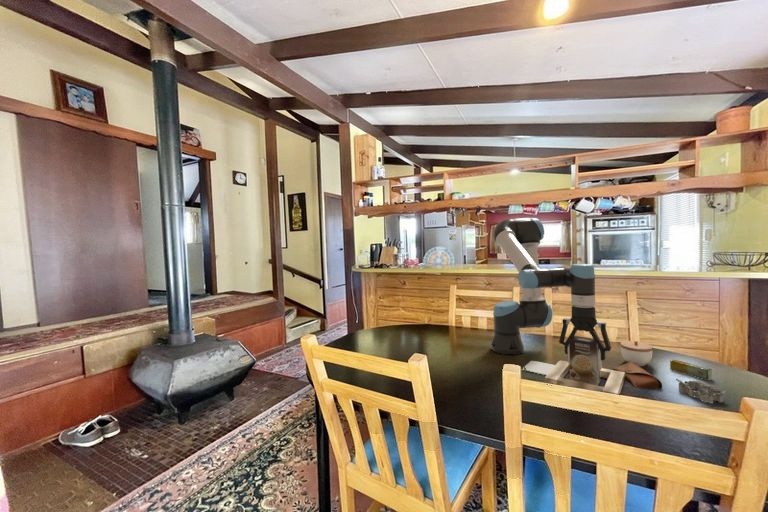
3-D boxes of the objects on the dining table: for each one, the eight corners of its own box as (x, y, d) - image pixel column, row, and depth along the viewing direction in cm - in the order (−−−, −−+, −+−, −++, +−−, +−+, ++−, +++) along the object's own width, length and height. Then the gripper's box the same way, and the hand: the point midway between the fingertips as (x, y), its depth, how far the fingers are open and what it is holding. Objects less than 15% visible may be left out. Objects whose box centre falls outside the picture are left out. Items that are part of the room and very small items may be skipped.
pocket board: (545, 383, 120) (544, 377, 120) (559, 366, 135) (559, 360, 135) (617, 401, 105) (617, 393, 105) (624, 378, 121) (624, 372, 120)
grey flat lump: (673, 389, 111) (673, 378, 111) (695, 388, 112) (694, 376, 111) (705, 404, 101) (705, 392, 101) (728, 403, 101) (728, 390, 101)
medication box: (712, 380, 117) (712, 369, 117) (708, 381, 116) (708, 370, 116) (673, 368, 128) (673, 358, 128) (669, 369, 127) (669, 359, 127)
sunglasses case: (609, 367, 131) (618, 354, 130) (626, 376, 130) (635, 363, 129) (635, 388, 113) (646, 372, 112) (655, 398, 112) (666, 382, 111)
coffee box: (568, 381, 121) (567, 339, 120) (573, 375, 126) (572, 334, 125) (597, 387, 115) (596, 343, 114) (601, 381, 119) (600, 338, 119)
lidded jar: (659, 368, 128) (658, 345, 128) (628, 367, 130) (628, 345, 130) (643, 358, 139) (643, 337, 138) (615, 358, 141) (615, 337, 140)
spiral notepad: (521, 370, 133) (521, 369, 133) (531, 361, 142) (531, 360, 142) (548, 376, 126) (547, 374, 126) (556, 366, 135) (556, 365, 135)
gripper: (548, 304, 124) (550, 362, 124) (617, 310, 109) (619, 375, 110) (553, 301, 129) (555, 356, 130) (620, 306, 115) (621, 368, 115)
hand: (584, 365), depth 120 cm, fingers closed on coffee box, 9 cm apart
